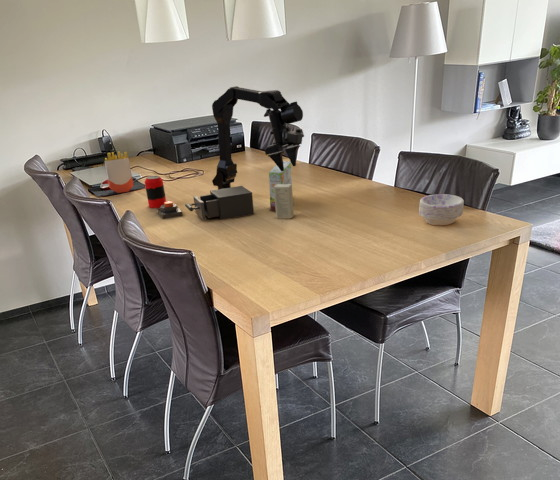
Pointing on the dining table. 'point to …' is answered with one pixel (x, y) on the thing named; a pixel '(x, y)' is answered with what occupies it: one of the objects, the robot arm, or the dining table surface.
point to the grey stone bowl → (441, 208)
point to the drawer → (205, 206)
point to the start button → (168, 204)
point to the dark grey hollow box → (234, 202)
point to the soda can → (155, 191)
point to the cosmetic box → (284, 201)
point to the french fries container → (119, 172)
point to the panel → (169, 211)
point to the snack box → (279, 180)
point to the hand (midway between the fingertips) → (288, 168)
